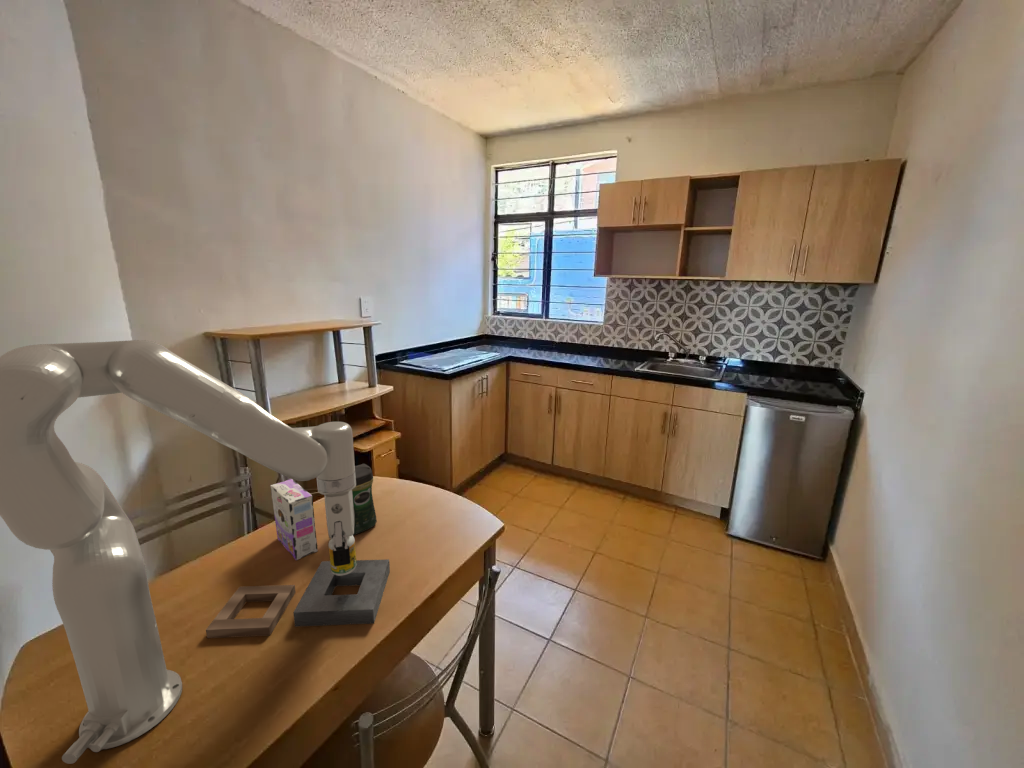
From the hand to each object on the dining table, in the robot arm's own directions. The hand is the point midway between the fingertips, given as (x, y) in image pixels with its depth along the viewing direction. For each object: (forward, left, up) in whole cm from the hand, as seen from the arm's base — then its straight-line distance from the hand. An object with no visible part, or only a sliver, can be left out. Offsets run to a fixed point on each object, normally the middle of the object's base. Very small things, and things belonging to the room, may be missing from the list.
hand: (342, 554), depth 91 cm
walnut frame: (-4, +18, -11) cm, 21 cm away
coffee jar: (+28, +5, -11) cm, 31 cm away
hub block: (0, 0, -11) cm, 11 cm away
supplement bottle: (0, 0, -4) cm, 4 cm away
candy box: (+20, +19, -11) cm, 30 cm away
